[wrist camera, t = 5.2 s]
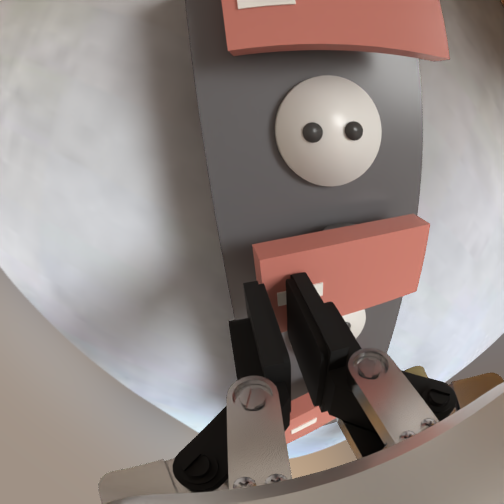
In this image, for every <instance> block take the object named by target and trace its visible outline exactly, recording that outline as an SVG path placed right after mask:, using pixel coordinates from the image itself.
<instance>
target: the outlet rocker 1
mask: <svg viewBox="0 0 504 504" xmlns="http://www.w3.org/2000/svg"><path fill="white" fill-rule="evenodd" d="M221 1H222V9H223V17H224V25H225V33H226V41H227V48H228V51H229V52H230V53H231V54H232V55H233V56H239V55H247V54H256V53H266V52H279V51H297V50H344V51H362V52H374V53H384V54H393V55H400V56H407V57H413V58H419V59H425V60H430V61H441V60H449V59H450V57H449V49H448V42H447V36H446V30H445V24H444V19H443V14H442V10H441V5H440V1H439V0H221Z"/></svg>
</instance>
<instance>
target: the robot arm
mask: <svg viewBox="0 0 504 504" xmlns="http://www.w3.org/2000/svg"><path fill="white" fill-rule="evenodd" d="M290 278H291V279H286V303H287V331H288V337H289V341H290V343H291V346H292V349H293V352H294V354H295V357H296V360H297V362H298V365H299V368H300V371H301V373H302V376H303V379H304V381H305V384H306V387H307V390H308V392H309V395H310V398H311V400H312V403H313V405H314V407H315V406H319V408H320V410H321V413H323V412H326V411H328V413H329V415H331V416H334V417H336V420H337V423H338V425H339V426H340V428H341V430H342V432H343V434H344V436H345V438H346V440H347V441H348V443H349V445H350V447H351V449H352V451H353V453H354V454H355V456H356V458H357V460H355V461H352V462H349V463H346V464H343V465H340V466H337V467H334V468H331V469H328V470H325V471H321V472H317V473H314V474H310V475H306V476H302V477H298V478H294V479H292V477H291V470H290V463H289V457H288V451H287V444H286V438H285V431H286V429H287V428H288V427H289V425H290V413H291V362H290V357H289V354H288V351H287V348H286V345H285V342H284V339H283V336H282V333H281V331H280V328H279V325H278V322H277V319H276V316H275V313H274V311H273V308H272V305H271V302H270V299H269V296H268V293H267V291H266V288H265V285H264V283H263V284H259V283H258V281H252V282H246V283H243V289H244V296H245V303H246V310H247V316H248V318H245V319H239V320H233V321H229V328H230V335H231V341H232V348H233V354H234V361H235V367H236V373H237V379H238V380H237V381H236V382H234V383H233V384H232V385H231V387H230V388H229V390H228V392H227V406H226V407H225V408H224V409H223V410H222V411H221V412H220V413H219V414H218V415H217V416H216V417H215V418H214V419H213V420H212V421H211V422H210V423H209V424H208V425H207V426H206V427H205V428H204V429H203V430H202V431H201V432H200V433H199V434H198V435H197V436H196V437H195V438H194V439H193V440H192V441H191V442H190V443H189V444H188V445H187V446H186V447H185V448H184V449H183V450H181V451H180V452H179V454H178V455H177V456H176V457H175V458H173V459H170V460H166V461H165V460H164V459H161V460H158V461H154V462H151V463H146V464H143V465H139V466H135V467H130V468H126V469H121V470H116V471H112V472H109V473H106V474H105V475H104V476H103V477H102V478H101V479H100V482H99V484H98V486H99V487H98V488H99V494H100V498H101V502H102V504H504V380H503V379H502V378H501V377H500V376H499V375H498V374H495V373H486V374H482V375H478V376H474V377H470V378H466V379H461V380H457V381H452V382H451V384H450V385H448V384H446V383H444V382H441V381H437V380H434V379H430V378H426V377H423V376H419V375H415V374H412V373H409V372H405V371H402V370H400V369H399V368H398V366H397V365H396V364H395V363H394V361H393V360H392V359H391V358H390V356H389V355H387V354H386V353H385V352H383V351H381V350H380V349H375V348H364V349H362V348H361V347H360V345H359V343H358V342H357V340H356V338H355V337H354V335H353V333H352V332H351V330H350V329H349V327H348V325H347V324H346V322H345V320H344V319H343V317H342V316H341V314H340V312H339V311H338V309H337V307H336V306H335V304H334V303H333V302H331V301H330V302H326V303H324V302H323V300H322V299H321V297H320V295H319V294H318V292H317V290H316V288H315V287H314V285H313V283H312V282H311V280H310V278H309V277H308V275H307V274H306V272H302V273H297V274H292V275H290Z"/></svg>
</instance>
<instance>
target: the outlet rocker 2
mask: <svg viewBox="0 0 504 504" xmlns="http://www.w3.org/2000/svg"><path fill="white" fill-rule="evenodd" d="M429 228H430V224H429V223H428V222H426V221H425V220H423V219H421V218H420V217H418V216H416V215H415V214H409V215H404V216H398V217H393V218H388V219H382V220H377V221H372V222H366V223H361V224H352V223H336V224H332V225H329V226H327V227H326V228H325V229H324V230H323V231H319V232H314V233H308V234H303V235H298V236H293V237H288V238H283V239H277V240H272V241H267V242H262V243H257V244H252V247H253V255H254V264H255V272H256V280H257V281H258V283H259V284H263V283H264V285H265V288H266V291H267V293H268V296H269V299H270V302H271V305H272V308H273V311H274V313H275V316H276V319H277V322H278V325H279V328H280V331H281V333H282V332H286V331H287V303H286V279H291V278H290V275H292V274H297V273H302V272H306V274H307V275H308V277H309V278H310V280H311V282H312V283H313V285H314V287H315V288H316V290H317V292H318V294H319V295H320V297H321V299H322V300H323V302H324V303H326V302H330V301H331V302H333V303H334V304H335V306H336V307H337V309H338V311H339V312H340V314H341V316H344V315H347V314H350V313H354V312H357V311H360V310H363V309H366V308H369V307H372V306H375V305H378V304H381V303H384V302H387V301H390V300H393V299H396V298H399V297H402V296H405V295H407V294H410V293H413V292H416V291H417V287H418V283H419V278H420V274H421V270H422V265H423V261H424V256H425V251H426V245H427V240H428V234H429Z"/></svg>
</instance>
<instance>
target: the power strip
mask: <svg viewBox="0 0 504 504" xmlns="http://www.w3.org/2000/svg"><path fill="white" fill-rule="evenodd" d="M185 3H186V12H187V21H188V30H189V39H190V47H191V56H192V64H193V71H194V79H195V86H196V94H197V101H198V108H199V115H200V122H201V129H202V136H203V142H204V149H205V155H206V161H207V168H208V174H209V180H210V186H211V192H212V198H213V204H214V210H215V216H216V221H217V227H218V233H219V238H220V244H221V249H222V255H223V260H224V266H225V271H226V276H227V282H228V287H229V292H230V297H231V302H232V307H233V312H234V317H235V320H239V319H245V318H248V316H247V310H246V303H245V296H244V289H243V283H246V282H252V281H257V280H256V272H255V264H254V255H253V247H252V244H257V243H262V242H267V241H272V240H277V239H283V238H288V237H293V236H298V235H303V234H308V233H314V232H319V231H323V230H324V229H325V228H326V227H327V226H329V225H332V224H336V223H352V224H361V223H366V222H372V221H377V220H382V219H388V218H393V217H398V216H404V215H409V214H415V215H416V216H417V213H418V204H419V194H420V183H421V168H422V142H423V116H422V90H421V76H420V66H419V58H413V57H407V56H400V55H393V54H384V53H374V52H362V51H344V50H297V51H279V52H266V53H256V54H247V55H239V56H233V55H232V54H231V53H230V52H229V51H228V48H227V41H226V33H225V25H224V17H223V9H222V1H221V0H185ZM402 297H403V296H402ZM402 297H399V298H396V299H393V300H390V301H387V302H384V303H381V304H378V305H375V306H372V307H369V308H366V309H363V310H360V311H357V312H354V313H350V314H347V315H344V316H342V317H343V319H344V320H345V322H346V324H347V325H348V327H349V329H350V330H351V332H352V333H353V335H354V337H355V338H356V340H357V342H358V343H359V345H360V347H361V348H362V349H364V348H375V349H380V350H381V351H383V352H385V353H386V354H387V351H388V347H389V344H390V341H391V338H392V334H393V331H394V327H395V324H396V320H397V316H398V313H399V309H400V305H401V301H402ZM282 336H283V339H284V342H285V345H286V348H287V351H288V354H289V357H290V362H291V401H292V400H294V399H296V398H298V397H300V396H302V395H304V394H306V393H308V390H307V387H306V384H305V381H304V379H303V376H302V373H301V371H300V368H299V365H298V362H297V360H296V357H295V354H294V352H293V349H292V346H291V343H290V341H289V337H288V331H286V332H282ZM334 422H337V420H336V418H335V419H333V420H332V421H330V422H328V423H326V424H325V425H327V424H331V423H334ZM323 426H324V425H323Z"/></svg>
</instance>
